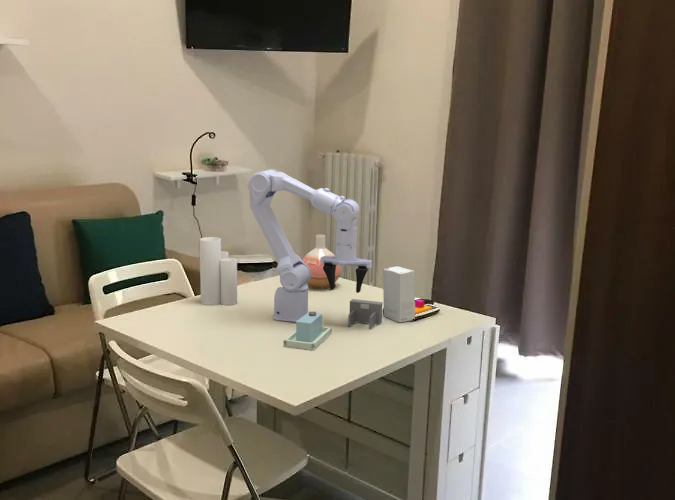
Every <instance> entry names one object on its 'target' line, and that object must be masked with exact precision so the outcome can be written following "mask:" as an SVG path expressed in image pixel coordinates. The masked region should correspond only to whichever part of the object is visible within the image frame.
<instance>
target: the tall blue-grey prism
mask: <svg viewBox="0 0 675 500" xmlns="http://www.w3.org/2000/svg"><path fill="white" fill-rule="evenodd" d="M322 326H323V314H322V313H317V312H316V311H308V313H307V314H305V315H304V316H303V317H302V318H300V319H299V320H298V321H297V322H295V327H296V328H295V330H296V341H301V342H309V343H312V342H313V341H314V340H315V339H316V338H317V337H318V336H319V335H320V334H321V333H322Z"/></svg>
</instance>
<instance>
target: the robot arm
mask: <svg viewBox="0 0 675 500" xmlns="http://www.w3.org/2000/svg"><path fill="white" fill-rule="evenodd" d="M247 189H248V190H249V192H248V193H249V208H250V210H251V212H252V214H253V216H254V218H255V220H256V222H257V224H258V226H259V227H260V229H261V232H262V234H263V235H264V238H265V239H266V242H267V243H268V244H269V246H270V249H271V251H272V253H273V255H274V257H275V259H276V260H277V268H276V269H277V272H278V274H279V282H280V285H281V286H278V287H277V288H276V290H275V292H274V298H273V305H274V307H273V310H274V312H273V318H272V319H273V320H274V321H284V322H293V323H296V322H297V321H298V320H299V319H300V318H302V317H303V316H304V315H305V314H307V313H308V312H309V285H308V284H307V282H308V281H309V280H310V278H311V270H310V268H309V267H308V266H307V265H306V264H305V263H304V262H303V261H302V260H303V258H301V256H299V255H298V254H296V252H294V249H293V247H292V245H291V243H290V242H289V240H288V238H287V235H286V234H285V232H284V230H283V228H282V226H281V224H280V222H279V219H278V218H277V216H276V214H275V213H274V211H273V209H272V206H271V204H272V201H273V197H274V195H275V194H276V193H277V192H278V191H286V192H289V193H292V194H294V195H296V196H299V197H301V198H303V199H305V200H309V201H310V203H311V206H312V207H314V208H315V209H317V210H319V211H322V212H323V213H325V214H328V215H330V216H332V217H334V219H335V220H336V227H335V228H336V232H335V237H336V239H335V256H322V257H320V264H324V266H323V270H324V272H325V274H326V276H327V278H328V281H329V285H330V287H329V289H330V291H333V290H334V289H336V282H335V270H336V265H340V266H344V267H346V266H347V267H354V268H355V278H356V280H355V281H356V284H355V285H356V286H355V293H360V292H361V289H362V286H363V281H364V280H365V277H366V274H367V273H368V271H369V269H371V268H372V267H373V266H372V265H373V263H372V262H373V260H371V259H365V258H359V257H357V245H358V244H357V243H358V242H357V240H358V237H357V236H358V226H357V225H358V223H357V222H358V216H359V215H360V212H361V211H360V210H361V208H360V205H359V203H358V202H356V200H354V199H353V198H347V199H346V197H345V196H344V195H341V196H340V195H338V194H336V193H333V192H331V189H330V188H327V187H325V188H323V187H320V188H318V189H315V188H312V187H311V186H309V185H307V184H305V183H304V182H301V181H299V180H298V179H295V178H294V177H292V176H289V174H286V173H285V172H283V171H279V170H277V169H275V168H269V169H265V170H262V171H257V172H254V173H253V174H252V175H251V176H250V178H249V181H248V183H247Z"/></svg>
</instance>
